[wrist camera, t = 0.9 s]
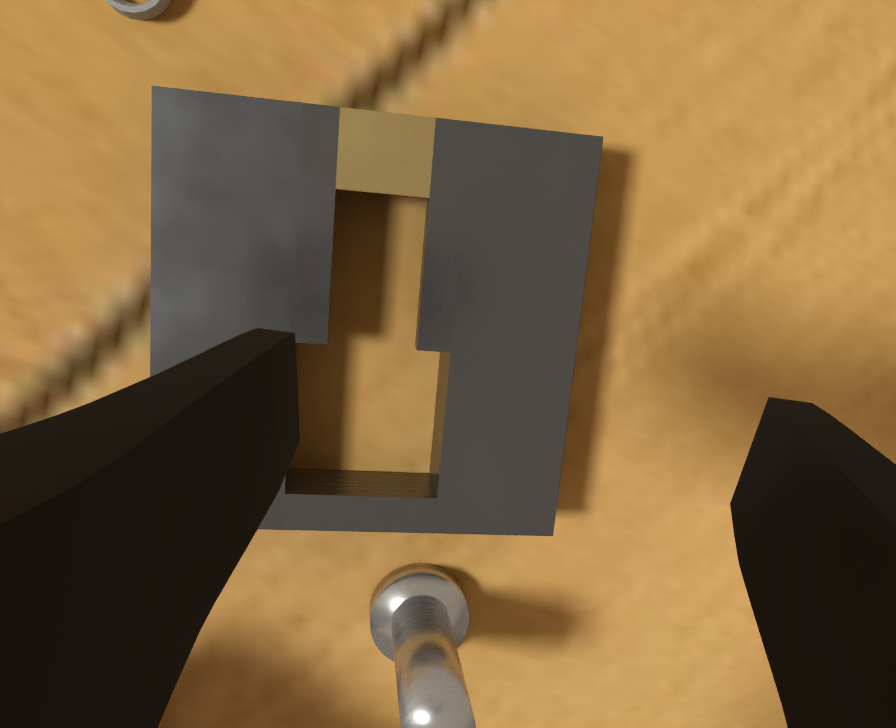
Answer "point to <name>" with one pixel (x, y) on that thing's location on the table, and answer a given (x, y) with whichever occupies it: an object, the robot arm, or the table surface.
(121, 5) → the adjustable wrench
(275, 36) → the table surface
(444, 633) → the steel peg
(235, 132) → the keyhole plate
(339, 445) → the table surface
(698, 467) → the table surface
